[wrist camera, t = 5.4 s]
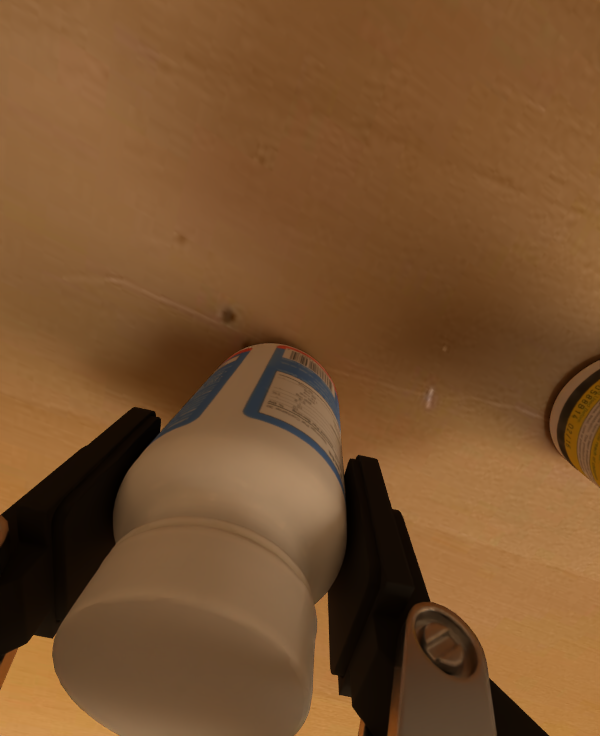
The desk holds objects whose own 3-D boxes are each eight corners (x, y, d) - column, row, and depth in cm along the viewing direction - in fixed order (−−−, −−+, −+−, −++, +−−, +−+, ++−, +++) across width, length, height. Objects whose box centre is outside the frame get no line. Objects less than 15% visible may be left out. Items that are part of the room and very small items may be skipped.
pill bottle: (225, 457, 15) (66, 771, 6) (201, 345, 13) (-76, 555, 4) (345, 453, 15) (364, 799, 5) (336, 334, 13) (342, 556, 4)
